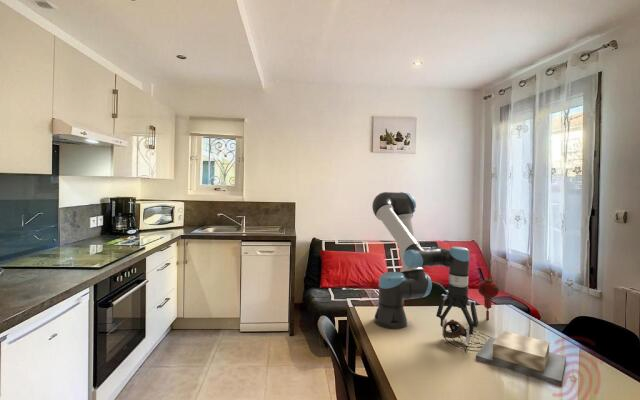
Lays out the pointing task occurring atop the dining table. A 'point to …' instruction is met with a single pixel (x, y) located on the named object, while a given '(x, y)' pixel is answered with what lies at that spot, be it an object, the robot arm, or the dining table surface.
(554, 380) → the build base
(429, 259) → the robot arm
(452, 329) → the pottery mug
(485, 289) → the lantern
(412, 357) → the dining table surface
